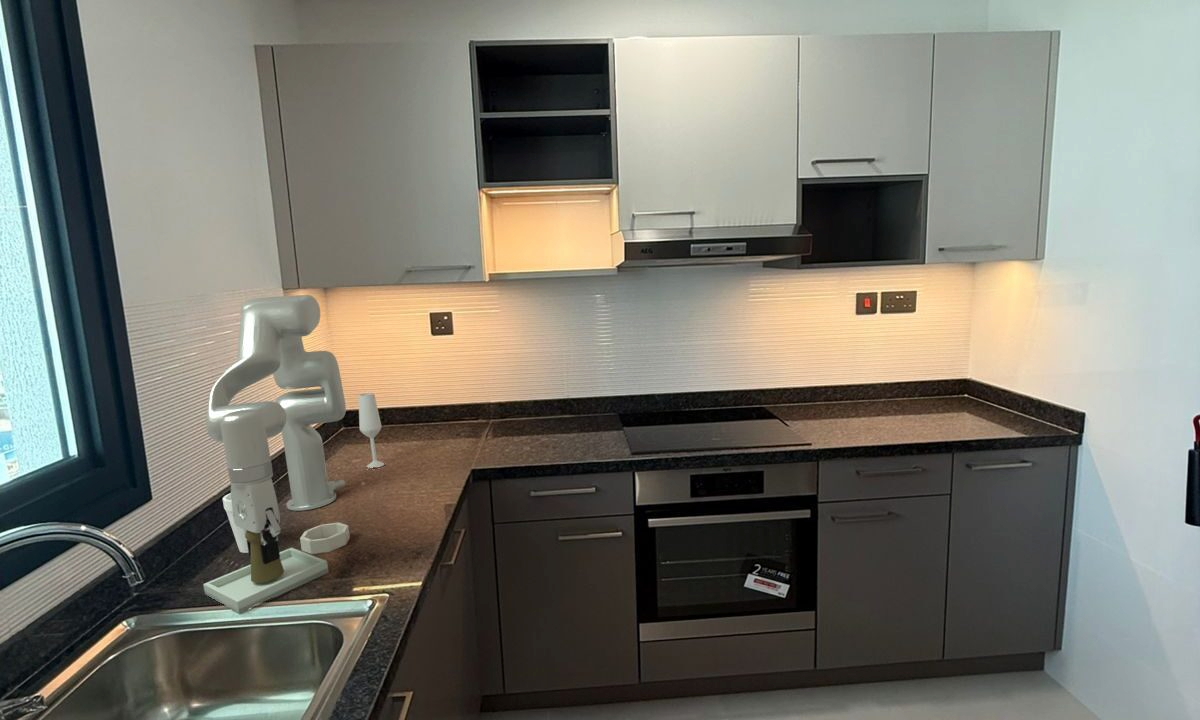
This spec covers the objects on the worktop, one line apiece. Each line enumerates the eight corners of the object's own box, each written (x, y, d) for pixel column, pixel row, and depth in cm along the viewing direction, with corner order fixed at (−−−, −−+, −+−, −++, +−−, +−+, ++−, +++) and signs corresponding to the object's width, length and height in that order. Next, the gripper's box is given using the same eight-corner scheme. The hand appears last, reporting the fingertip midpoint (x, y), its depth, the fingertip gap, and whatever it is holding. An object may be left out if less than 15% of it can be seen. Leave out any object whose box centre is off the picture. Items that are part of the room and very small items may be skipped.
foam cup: (284, 536, 151) (276, 485, 149) (265, 553, 142) (256, 499, 140) (244, 539, 151) (236, 488, 149) (223, 557, 142) (213, 502, 140)
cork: (252, 572, 129) (244, 522, 127) (285, 565, 131) (277, 515, 129) (249, 585, 123) (240, 533, 121) (283, 577, 125) (274, 526, 124)
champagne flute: (383, 468, 200) (373, 395, 197) (361, 470, 200) (352, 397, 197) (388, 462, 207) (380, 391, 204) (368, 463, 207) (359, 393, 203)
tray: (292, 558, 138) (291, 547, 138) (328, 572, 130) (327, 561, 130) (205, 595, 124) (203, 584, 124) (239, 614, 116) (237, 601, 115)
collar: (333, 532, 151) (331, 520, 151) (356, 539, 146) (355, 527, 145) (295, 548, 144) (293, 535, 143) (318, 556, 138) (316, 544, 138)
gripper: (211, 472, 126) (225, 557, 128) (252, 484, 116) (267, 576, 119) (249, 461, 132) (262, 542, 134) (291, 472, 122) (305, 559, 125)
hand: (264, 557), depth 126 cm, fingers closed on cork, 4 cm apart
